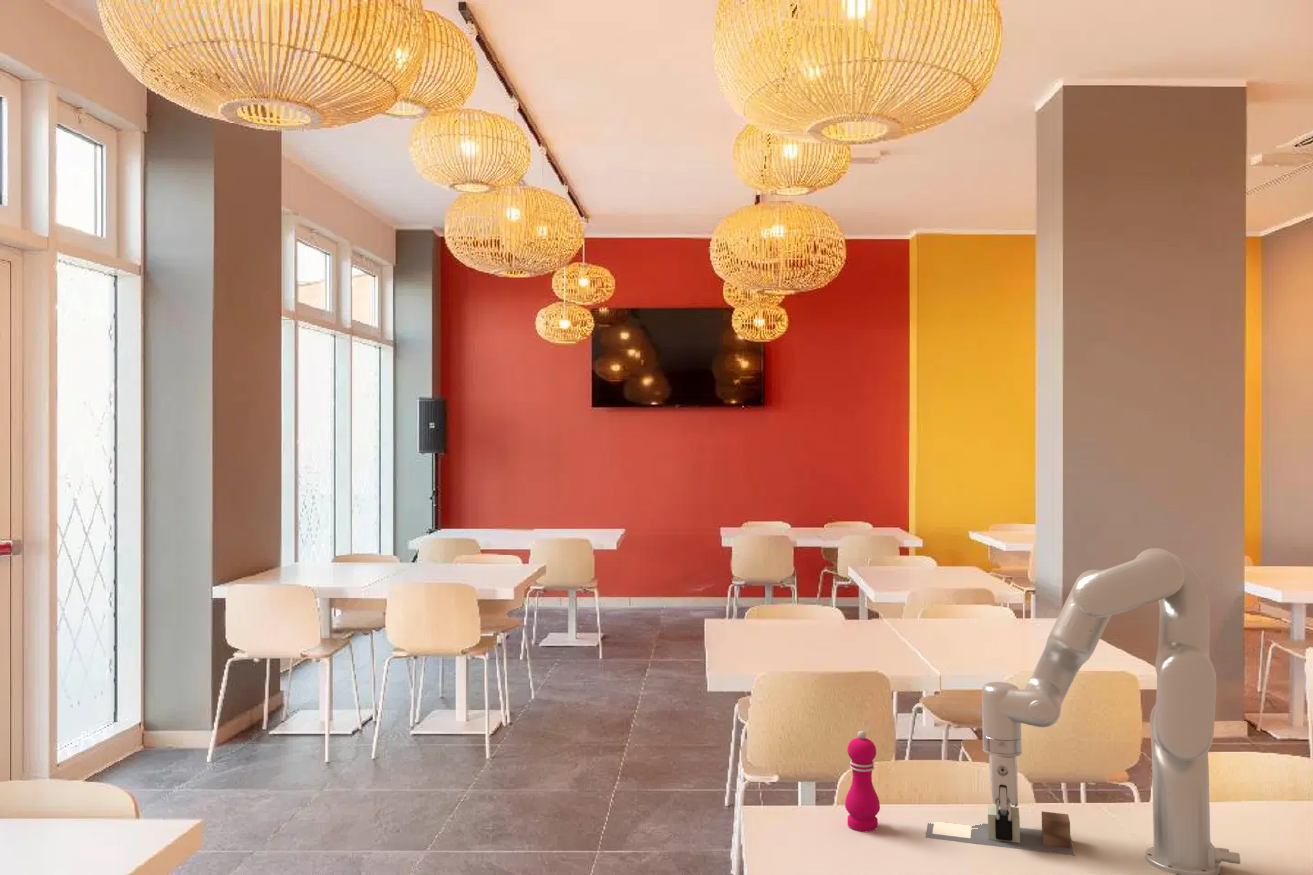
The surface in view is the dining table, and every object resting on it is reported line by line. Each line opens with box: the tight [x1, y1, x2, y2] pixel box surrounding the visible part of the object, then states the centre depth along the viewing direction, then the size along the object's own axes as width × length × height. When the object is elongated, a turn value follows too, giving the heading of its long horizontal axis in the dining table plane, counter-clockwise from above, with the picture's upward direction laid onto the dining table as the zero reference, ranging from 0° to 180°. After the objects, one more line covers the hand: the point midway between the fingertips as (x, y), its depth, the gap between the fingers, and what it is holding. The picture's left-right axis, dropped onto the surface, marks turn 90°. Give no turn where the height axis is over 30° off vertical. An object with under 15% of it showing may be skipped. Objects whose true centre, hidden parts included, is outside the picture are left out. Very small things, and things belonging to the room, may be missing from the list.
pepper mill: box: [844, 730, 881, 833], centre depth 200 cm, size 7×7×20 cm
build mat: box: [925, 822, 1076, 857], centre depth 194 cm, size 28×12×1 cm, turn 71°
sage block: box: [987, 804, 1021, 843], centre depth 193 cm, size 6×6×5 cm
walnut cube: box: [1041, 810, 1071, 848], centre depth 190 cm, size 5×5×5 cm
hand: (1003, 832), depth 193 cm, fingers closed on sage block, 6 cm apart
